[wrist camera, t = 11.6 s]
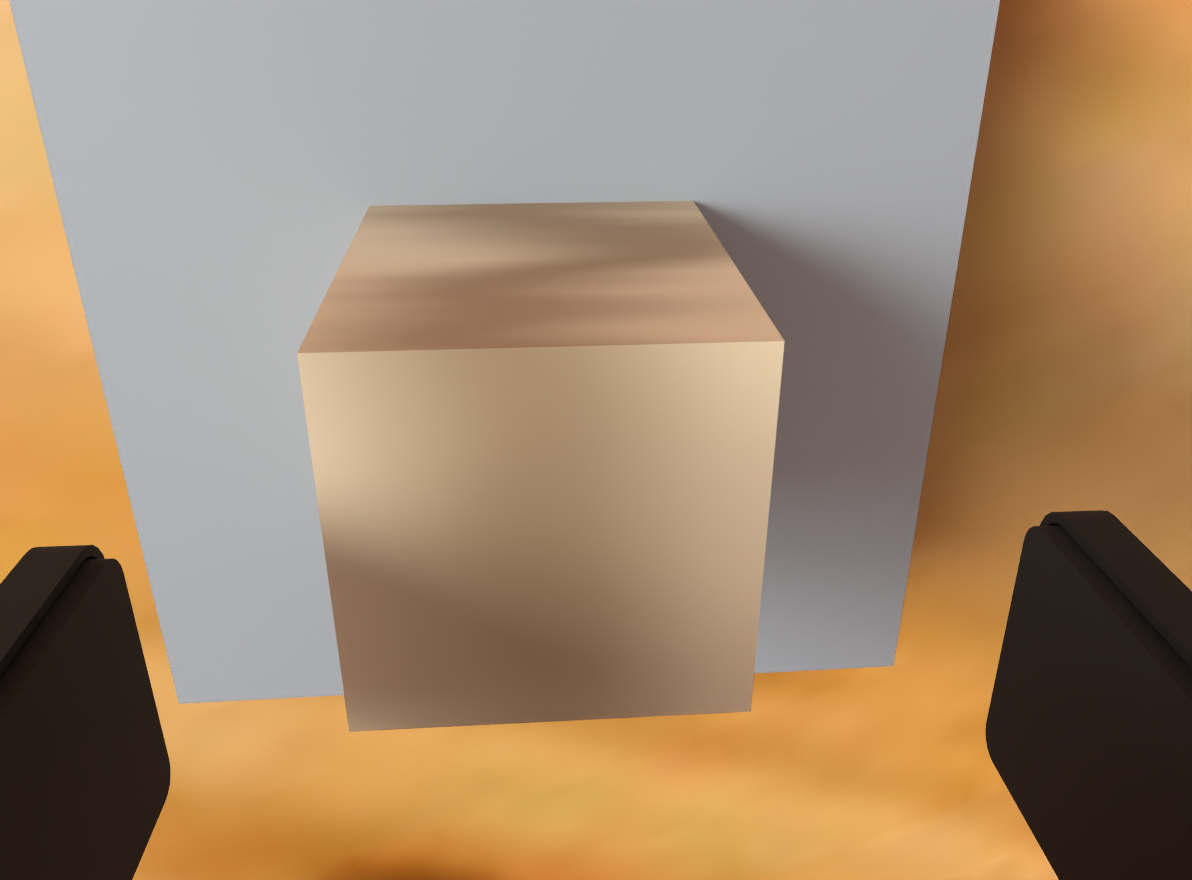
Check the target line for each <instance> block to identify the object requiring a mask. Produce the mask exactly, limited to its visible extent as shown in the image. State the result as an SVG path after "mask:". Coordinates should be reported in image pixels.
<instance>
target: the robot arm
mask: <svg viewBox="0 0 1192 880" xmlns="http://www.w3.org/2000/svg"><path fill="white" fill-rule="evenodd" d="M986 742H987V748H988V751H989V755H990V757H991V759H992V762H993V764H994V765H995V767H996V769H997V771H998V772H999V774H1000V776H1001V778H1002V779H1003V781H1004V783H1005V785H1006V787H1007V788H1008V790H1009V792H1010V794H1011V795H1012V797H1013V799H1014V801H1015V802H1016V804H1017V806H1018V808H1019V810H1020V811H1021V813H1022V815H1023V817H1024V818H1025V820H1026V822H1027V824H1028V826H1029V827H1030V829H1031V831H1032V833H1033V834H1034V836H1035V838H1036V840H1037V841H1038V843H1039V845H1040V847H1041V849H1042V850H1043V852H1044V854H1045V856H1046V857H1047V859H1048V861H1049V863H1050V865H1051V866H1052V868H1053V870H1054V872H1055V873H1056V875H1057V877H1058V879H1059V880H1192V591H1191V590H1190V589H1189V588H1188V587H1187V586H1186V585H1184V584H1183V583H1182V582H1181V581H1180V580H1179V579H1178V578H1177V577H1176V576H1175V575H1174V574H1173V573H1172V572H1171V571H1170V570H1169V569H1168V568H1167V567H1166V566H1165V565H1164V564H1163V563H1162V562H1161V561H1160V560H1159V559H1158V558H1157V557H1156V556H1155V555H1154V554H1153V553H1152V552H1151V551H1150V550H1149V549H1148V548H1147V547H1146V546H1145V545H1144V544H1143V543H1142V542H1141V541H1140V540H1139V539H1138V538H1137V537H1136V536H1135V535H1134V534H1133V533H1132V532H1131V531H1129V530H1128V529H1127V528H1126V527H1125V526H1124V525H1123V524H1122V523H1121V522H1120V521H1119V520H1118V519H1117V518H1116V517H1115V516H1114V515H1113V514H1111V513H1110V512H1108V511H1071V512H1051V513H1049V514H1048V515H1046V516H1045V517H1044V519H1043V520H1042V522H1041V525H1040V526H1033V527H1032V528H1030V529H1029V530H1028V532H1027V533H1026V536H1025V539H1024V543H1023V548H1022V553H1021V557H1020V562H1019V567H1018V572H1017V577H1016V582H1015V586H1014V591H1013V596H1012V601H1011V606H1010V611H1009V616H1008V620H1007V625H1006V630H1005V635H1004V640H1003V645H1002V650H1001V654H1000V659H999V664H998V669H997V674H996V679H995V684H994V688H993V693H992V698H991V703H990V708H989V713H988V718H987V722H986ZM169 785H170V763H169V757H168V753H167V749H166V745H165V741H164V737H163V733H162V729H161V724H160V720H159V716H158V712H157V708H156V704H155V700H154V696H153V692H152V688H151V684H150V679H149V675H148V671H147V667H146V663H145V659H144V655H143V651H142V647H141V643H140V638H139V634H138V630H137V626H136V622H135V618H134V614H133V610H132V606H131V602H130V598H129V593H128V589H127V585H126V581H125V577H124V573H123V570H122V567H121V565H120V564H119V562H118V561H117V560H115V559H104V556H103V554H102V553H101V551H100V550H99V548H97V547H95V546H94V545H81V546H52V547H35V548H32V549H30V550H29V551H28V552H27V553H26V554H25V555H24V556H23V557H22V558H21V560H20V561H19V562H18V563H17V565H16V566H15V567H14V568H13V569H12V571H11V572H10V573H9V574H8V575H7V577H6V578H5V579H4V580H3V582H2V583H1V584H0V880H132V879H133V876H134V874H135V872H136V869H137V867H138V864H139V862H140V860H141V857H142V855H143V853H144V850H145V848H146V846H147V843H148V841H149V838H150V836H151V834H152V831H153V829H154V827H155V824H156V822H157V820H158V817H159V815H160V813H161V810H162V808H163V805H164V803H165V801H166V798H167V795H168V790H169Z"/></svg>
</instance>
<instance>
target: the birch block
mask: <svg viewBox="0 0 1192 880" xmlns="http://www.w3.org/2000/svg"><path fill="white" fill-rule="evenodd" d="M784 342H785V341H784V339H783V338H782V336H781V335H780V333H779V332H778V330H777V329H776V327H775V326H774V324H773V322H772V321H771V319H770V318H769V316H768V315H767V313H766V312H765V310H764V309H763V307H762V306H761V304H760V303H759V301H758V299H757V298H756V296H755V295H754V293H753V292H752V290H751V289H750V287H749V286H748V284H747V283H746V281H745V280H744V278H743V276H742V275H741V273H740V272H739V270H738V269H737V267H736V266H735V264H734V263H733V261H732V260H731V258H730V256H729V255H728V253H727V252H726V250H725V249H724V247H723V246H722V244H721V243H720V241H719V240H718V238H717V237H716V235H715V233H714V232H713V230H712V229H711V227H710V226H709V224H708V223H707V221H706V220H705V218H704V217H703V215H702V213H701V212H700V210H699V209H698V207H697V206H696V204H695V203H694V201H645V202H581V203H517V204H453V205H389V206H369V207H368V209H367V211H366V213H365V215H364V217H363V219H362V221H361V223H360V226H359V228H358V230H357V232H356V234H355V236H354V238H353V240H352V242H351V244H350V246H349V248H348V250H347V252H346V254H345V256H344V258H343V260H342V262H341V264H340V266H339V268H338V270H337V273H336V275H335V277H334V279H333V281H332V283H331V285H330V287H329V289H328V291H327V293H326V295H325V297H324V299H323V301H322V303H321V305H320V307H319V309H318V311H317V313H316V315H315V317H314V320H313V322H312V324H311V326H310V328H309V330H308V332H307V334H306V336H305V338H304V340H303V342H302V344H301V346H300V348H299V350H298V352H297V357H298V364H299V372H300V379H301V386H302V393H303V401H304V408H305V415H306V422H307V429H308V437H309V444H310V451H311V458H312V466H313V473H314V480H315V487H316V495H317V502H318V509H319V516H320V523H321V531H322V538H323V545H324V552H325V560H326V567H327V574H328V581H329V589H330V596H331V603H332V610H333V617H334V625H335V632H336V639H337V646H338V654H339V661H340V668H341V675H342V683H343V690H344V697H345V704H346V711H347V719H348V726H349V732H350V731H371V730H391V729H411V728H431V727H451V726H471V725H491V724H511V723H531V722H551V721H571V720H591V719H611V718H631V717H651V716H671V715H691V714H711V713H731V712H751V702H752V691H753V680H754V669H755V659H756V648H757V637H758V626H759V615H760V604H761V593H762V582H763V571H764V560H765V549H766V539H767V528H768V517H769V506H770V495H771V484H772V473H773V462H774V451H775V440H776V429H777V418H778V408H779V397H780V386H781V375H782V364H783V353H784Z"/></svg>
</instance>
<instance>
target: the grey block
mask: <svg viewBox="0 0 1192 880" xmlns="http://www.w3.org/2000/svg"><path fill="white" fill-rule="evenodd" d="M9 2H10V6H11V10H12V14H13V18H14V22H15V27H16V31H17V35H18V39H19V43H20V47H21V51H22V55H23V60H24V64H25V68H26V72H27V76H28V80H29V84H30V89H31V93H32V97H33V101H34V105H35V109H36V113H37V118H38V122H39V126H40V130H41V134H42V138H43V142H44V147H45V151H46V155H47V159H48V163H49V167H50V171H51V175H52V180H53V184H54V188H55V192H56V196H57V200H58V204H59V209H60V213H61V217H62V221H63V225H64V229H65V233H66V238H67V242H68V246H69V250H70V254H71V258H72V262H73V267H74V271H75V275H76V279H77V283H78V287H79V291H80V296H81V300H82V304H83V308H84V312H85V316H86V320H87V324H88V329H89V333H90V337H91V341H92V345H93V349H94V353H95V358H96V362H97V366H98V370H99V374H100V378H101V382H102V387H103V391H104V395H105V399H106V403H107V407H108V411H109V416H110V420H111V424H112V428H113V432H114V436H115V440H116V444H117V449H118V453H119V457H120V461H121V465H122V469H123V473H124V478H125V482H126V486H127V490H128V494H129V498H130V502H131V507H132V511H133V515H134V519H135V523H136V527H137V531H138V535H139V540H140V544H141V548H142V552H143V556H144V560H145V564H146V569H147V573H148V577H149V581H150V585H151V589H152V593H153V598H154V602H155V606H156V610H157V614H158V618H159V622H160V627H161V631H162V635H163V639H164V643H165V647H166V651H167V656H168V660H169V664H170V668H171V672H172V676H173V680H174V684H175V689H176V693H177V697H178V701H179V704H182V703H201V702H220V701H239V700H257V699H276V698H295V697H314V696H333V695H344V690H343V683H342V675H341V668H340V661H339V654H338V646H337V639H336V632H335V625H334V617H333V610H332V603H331V596H330V589H329V581H328V574H327V567H326V560H325V552H324V545H323V538H322V531H321V523H320V516H319V509H318V502H317V495H316V487H315V480H314V473H313V466H312V458H311V451H310V444H309V437H308V429H307V422H306V415H305V408H304V401H303V393H302V386H301V379H300V372H299V364H298V357H297V352H298V350H299V348H300V346H301V344H302V342H303V340H304V338H305V336H306V334H307V332H308V330H309V328H310V326H311V324H312V322H313V320H314V317H315V315H316V313H317V311H318V309H319V307H320V305H321V303H322V301H323V299H324V297H325V295H326V293H327V291H328V289H329V287H330V285H331V283H332V281H333V279H334V277H335V275H336V273H337V270H338V268H339V266H340V264H341V262H342V260H343V258H344V256H345V254H346V252H347V250H348V248H349V246H350V244H351V242H352V240H353V238H354V236H355V234H356V232H357V230H358V228H359V226H360V223H361V221H362V219H363V217H364V215H365V213H366V211H367V209H368V207H369V206H389V205H453V204H517V203H581V202H645V201H694V203H695V204H696V206H697V207H698V209H699V210H700V212H701V213H702V215H703V217H704V218H705V220H706V221H707V223H708V224H709V226H710V227H711V229H712V230H713V232H714V233H715V235H716V237H717V238H718V240H719V241H720V243H721V244H722V246H723V247H724V249H725V250H726V252H727V253H728V255H729V256H730V258H731V260H732V261H733V263H734V264H735V266H736V267H737V269H738V270H739V272H740V273H741V275H742V276H743V278H744V280H745V281H746V283H747V284H748V286H749V287H750V289H751V290H752V292H753V293H754V295H755V296H756V298H757V299H758V301H759V303H760V304H761V306H762V307H763V309H764V310H765V312H766V313H767V315H768V316H769V318H770V319H771V321H772V322H773V324H774V326H775V327H776V329H777V330H778V332H779V333H780V335H781V336H782V338H783V339H784V341H785V342H784V353H783V364H782V375H781V386H780V397H779V408H778V418H777V429H776V440H775V451H774V462H773V473H772V484H771V495H770V506H769V517H768V528H767V539H766V549H765V560H764V571H763V582H762V593H761V604H760V615H759V626H758V637H757V648H756V659H755V669H754V673H769V672H788V671H807V670H826V669H845V668H864V667H883V666H893V665H894V659H895V653H896V647H897V640H898V634H899V628H900V622H901V615H902V609H903V603H904V597H905V591H906V584H907V578H908V572H909V566H910V559H911V553H912V547H913V541H914V534H915V528H916V522H917V516H918V509H919V503H920V497H921V491H922V484H923V478H924V472H925V466H926V459H927V453H928V447H929V441H930V434H931V428H932V422H933V416H934V409H935V403H936V397H937V391H938V384H939V378H940V372H941V366H942V359H943V353H944V347H945V341H946V334H947V328H948V322H949V316H950V309H951V303H952V297H953V291H954V284H955V278H956V272H957V266H958V260H959V253H960V247H961V241H962V235H963V228H964V222H965V216H966V210H967V203H968V197H969V191H970V185H971V178H972V172H973V166H974V160H975V153H976V147H977V141H978V135H979V128H980V122H981V116H982V110H983V103H984V97H985V91H986V85H987V78H988V72H989V66H990V60H991V53H992V47H993V41H994V35H995V28H996V22H997V16H998V10H999V3H1000V0H9Z"/></svg>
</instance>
